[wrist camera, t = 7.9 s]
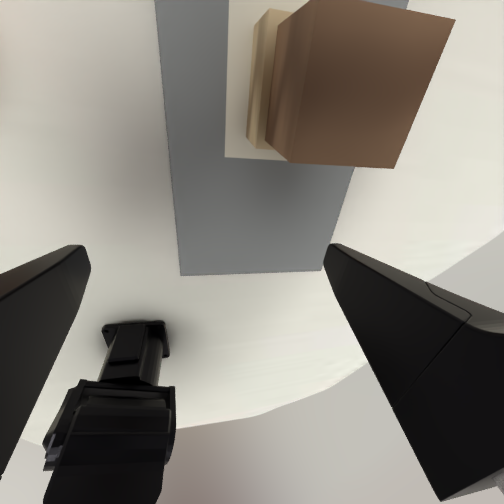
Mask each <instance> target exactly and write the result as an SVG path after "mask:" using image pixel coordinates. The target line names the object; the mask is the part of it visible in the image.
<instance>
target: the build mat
mask: <svg viewBox="0 0 504 504" xmlns="http://www.w3.org/2000/svg"><path fill="white" fill-rule="evenodd" d="M308 1H309V0H155V10H156V21H157V31H158V42H159V52H160V63H161V73H162V84H163V94H164V105H165V115H166V126H167V136H168V147H169V158H170V168H171V179H172V189H173V200H174V210H175V221H176V231H177V242H178V252H179V263H180V273H181V276H195V275H222V274H250V273H277V272H305V271H321V269H322V266H323V260H324V257H325V253H326V250H327V247H328V245H329V244H330V241H331V238H332V235H333V232H334V229H335V226H336V223H337V220H338V217H339V214H340V211H341V207H342V204H343V201H344V198H345V195H346V192H347V189H348V186H349V183H350V180H351V177H352V174H353V171H354V168H355V167H352V166H334V165H316V164H298V163H289V162H288V161H287V160H286V159H285V158H284V157H283V156H282V155H280V154H279V153H278V152H277V151H276V150H268V149H256V148H255V147H254V146H253V145H252V144H251V142H250V141H249V140H248V139H247V138H246V129H247V115H248V101H249V88H250V74H251V60H252V46H253V32H254V25H255V24H256V23H257V22H258V20H259V19H260V18H261V17H262V16H263V15H264V14H265V12H266V11H267V10H268V9H269V8H272V9H277V10H283V11H288V12H295V11H297V10H298V9H299V8H301V7H302V6H303V5H304V4H306V3H307V2H308ZM362 1H367V2H372V3H376V4H381V5H386V6H391V7H396V8H401V9H406V8H407V5H408V2H409V0H362Z"/></svg>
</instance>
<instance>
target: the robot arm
mask: <svg viewBox="0 0 504 504" xmlns="http://www.w3.org/2000/svg"><path fill="white" fill-rule="evenodd" d="M323 265H324V268H325V271H326V274H327V276H328V279H329V282H330V284H331V287H332V290H333V292H334V294H335V297H336V299H337V301H338V303H339V305H340V307H341V309H342V311H343V313H344V315H345V317H346V319H347V321H348V323H349V325H350V327H351V328H352V330H353V332H354V334H355V336H356V338H357V340H358V342H359V344H360V346H361V348H362V350H363V352H364V354H365V356H366V358H367V360H368V362H369V364H370V366H371V368H372V370H373V372H374V374H375V375H376V378H377V380H378V382H379V383H380V386H381V387H382V390H383V391H384V393H385V395H386V397H387V399H388V401H389V403H390V405H391V407H392V409H393V412H394V413H395V415H396V417H397V419H398V421H399V423H400V425H401V427H402V429H403V431H404V433H405V435H406V437H407V439H408V441H409V443H410V445H411V447H412V449H413V451H414V453H415V455H416V457H417V459H418V461H419V463H420V465H421V467H422V468H423V471H424V473H425V475H426V477H427V478H428V481H429V482H430V484H431V486H432V488H433V490H434V492H435V494H436V496H437V497H438V499H439V500H440V502H442V501H446V500H449V499H452V498H456V497H460V496H463V495H467V494H471V493H474V492H478V491H481V490H485V489H488V488H492V487H495V486H498V488H499V489H500V490H501V492H502V493H503V494H504V313H502V312H499V311H497V310H494V309H491V308H489V307H486V306H484V305H481V304H479V303H476V302H474V301H471V300H469V299H466V298H464V297H461V296H459V295H456V294H454V293H452V292H449V291H447V290H445V289H442V288H440V287H437V286H435V285H433V284H430V283H428V282H424V280H421V279H419V278H417V277H415V276H412V275H410V274H408V273H405V272H403V271H401V270H399V269H396V268H394V267H392V266H390V265H387V264H385V263H383V262H380V261H378V260H376V259H374V258H371V257H369V256H367V255H365V254H362V253H360V252H358V251H355V250H353V249H351V248H349V247H346V246H344V245H342V244H339V243H332V244H329V245H328V247H327V250H326V253H325V257H324V260H323ZM90 272H91V264H90V261H89V258H88V255H87V252H86V249H85V247H84V246H83V245H67V246H65V247H63V248H60V249H58V250H56V251H53V252H51V253H49V254H46V255H44V256H42V257H39V258H37V259H35V260H32V261H30V262H28V263H25V264H23V265H21V266H18V267H16V268H14V269H11V270H9V271H7V272H4V273H2V274H0V480H1V478H2V476H1V475H2V474H3V473H4V471H5V469H6V466H7V464H8V462H9V460H10V458H11V456H12V453H13V451H14V449H15V447H16V444H17V443H18V440H19V438H20V436H21V434H22V432H23V430H24V427H25V425H26V423H27V421H28V419H29V417H30V414H31V412H32V410H33V408H34V406H35V404H36V401H37V399H38V397H39V395H40V393H41V391H42V388H43V386H44V384H45V382H46V380H47V378H48V375H49V373H50V371H51V369H52V367H53V365H54V362H55V360H56V358H57V356H58V354H59V352H60V349H61V347H62V345H63V343H64V341H65V339H66V336H67V334H68V332H69V330H70V328H71V326H72V323H73V321H74V319H75V317H76V315H77V312H78V310H79V307H80V304H81V301H82V298H83V295H84V292H85V288H86V285H87V282H88V279H89V276H90ZM102 334H103V336H104V339H105V341H106V344H107V346H108V352H107V355H106V358H105V360H104V363H103V366H102V369H101V372H100V375H99V377H98V380H97V381H87V380H85V379H80V381H79V383H78V385H77V386H76V387H74V388H71V389H69V390H68V392H67V394H66V397H65V399H64V401H63V403H62V406H61V408H60V410H59V412H58V414H57V415H56V417H55V419H54V421H53V423H52V425H51V426H50V428H49V430H48V432H47V434H46V436H45V438H44V440H43V443H42V445H43V447H44V448H45V450H46V455H45V459H46V462H45V465H44V469H43V471H52V470H54V471H53V473H52V476H51V479H50V482H49V484H48V487H47V490H46V492H45V495H44V499H43V504H155V503H156V502H157V499H158V497H159V495H160V493H161V489H162V480H163V471H164V465H166V464H167V463H168V461H169V459H170V456H171V453H172V449H173V445H174V440H175V432H176V403H175V386H169V387H163V386H158V381H159V374H160V367H161V360H162V358H168V357H169V355H170V350H169V344H168V338H167V332H166V326H165V323H164V322H146V323H132V324H118V325H106V326H104V327H103V328H102Z"/></svg>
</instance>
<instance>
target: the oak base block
mask: <svg viewBox="0 0 504 504" xmlns="http://www.w3.org/2000/svg"><path fill="white" fill-rule="evenodd" d="M293 13H294V12H288V11H283V10H277V9H272V8H269V9H268V10H267V11H266V12H265V14H264V15H263V16H262V17H261V18H260V19H259V20H258V22H257V23H256V24H255V25H254V32H253V46H252V60H251V74H250V88H249V101H248V115H247V129H246V138H247V139H248V140H249V141H250V142H251V144H252V145H253V146H254V147H255V148H256V149H268V150H275V149H274V148H273V147H272V146H270V145H269V144H268V143H267V142H266V141H265V135H266V126H267V117H268V108H269V99H270V91H271V82H272V73H273V64H274V55H275V46H276V38H277V29H278V25H279V24H280V23H281V22H283V21H284V20H285V19H287V18H288V17H289V16H290V15H292V14H293Z"/></svg>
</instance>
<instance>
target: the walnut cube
mask: <svg viewBox="0 0 504 504" xmlns="http://www.w3.org/2000/svg"><path fill="white" fill-rule="evenodd" d="M455 21H456V20H455V19H450V18H445V17H440V16H435V15H430V14H425V13H420V12H416V11H411V10H406V9H401V8H396V7H391V6H386V5H381V4H376V3H372V2H367V1H362V0H309V1H308V2H307V3H306V4H304V5H303V6H302V7H301V8H299V9H298V10H297V11H295V12H294V13H293V14H292V15H290V16H289V17H288V18H287V19H285V20H284V21H283V22H281V23H280V24H279V25H278V29H277V38H276V46H275V55H274V64H273V73H272V82H271V91H270V99H269V108H268V117H267V126H266V135H265V141H266V142H267V143H268V144H269V145H270V146H272V147H273V148H274V149H275V150H276V151H277V152H278V153H279V154H280V155H282V156H283V157H284V158H285V159H286V160H287V161H288V162H289V163H298V164H316V165H334V166H352V167H370V168H388V169H394V167H395V165H396V162H397V160H398V158H399V155H400V153H401V150H402V148H403V146H404V143H405V141H406V138H407V136H408V133H409V131H410V129H411V126H412V124H413V121H414V119H415V117H416V114H417V112H418V109H419V107H420V105H421V102H422V100H423V97H424V95H425V93H426V90H427V88H428V85H429V83H430V81H431V78H432V76H433V73H434V71H435V69H436V66H437V64H438V61H439V59H440V57H441V54H442V52H443V49H444V47H445V45H446V42H447V40H448V37H449V35H450V33H451V30H452V28H453V25H454V23H455Z"/></svg>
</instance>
